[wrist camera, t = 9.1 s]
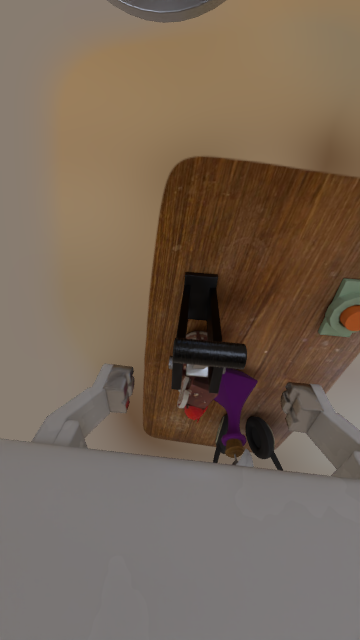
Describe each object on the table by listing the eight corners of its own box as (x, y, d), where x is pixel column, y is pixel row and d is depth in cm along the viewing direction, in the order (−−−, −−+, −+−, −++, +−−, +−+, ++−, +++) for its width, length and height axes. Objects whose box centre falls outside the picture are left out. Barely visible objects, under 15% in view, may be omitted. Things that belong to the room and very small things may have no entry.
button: (345, 304, 34) (352, 310, 33) (370, 306, 34) (377, 312, 33) (335, 323, 36) (340, 330, 35) (358, 325, 36) (365, 332, 35)
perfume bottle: (238, 391, 50) (253, 486, 35) (206, 382, 49) (208, 475, 34) (254, 368, 46) (279, 465, 31) (220, 358, 45) (228, 452, 30)
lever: (175, 327, 13) (170, 371, 12) (247, 333, 13) (246, 378, 12) (179, 353, 26) (177, 374, 26) (214, 356, 26) (213, 377, 26)
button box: (338, 277, 34) (346, 284, 32) (382, 281, 34) (394, 288, 32) (313, 331, 40) (319, 340, 38) (351, 334, 40) (359, 343, 38)
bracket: (182, 271, 36) (168, 344, 21) (220, 274, 36) (233, 350, 21) (179, 314, 40) (166, 399, 26) (213, 317, 40) (220, 404, 25)
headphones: (265, 431, 58) (291, 538, 41) (207, 424, 58) (209, 527, 41) (277, 411, 53) (311, 523, 36) (213, 403, 53) (218, 510, 36)
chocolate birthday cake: (208, 365, 47) (210, 437, 34) (170, 353, 46) (158, 422, 33) (229, 330, 41) (240, 400, 29) (187, 316, 40) (180, 382, 28)
